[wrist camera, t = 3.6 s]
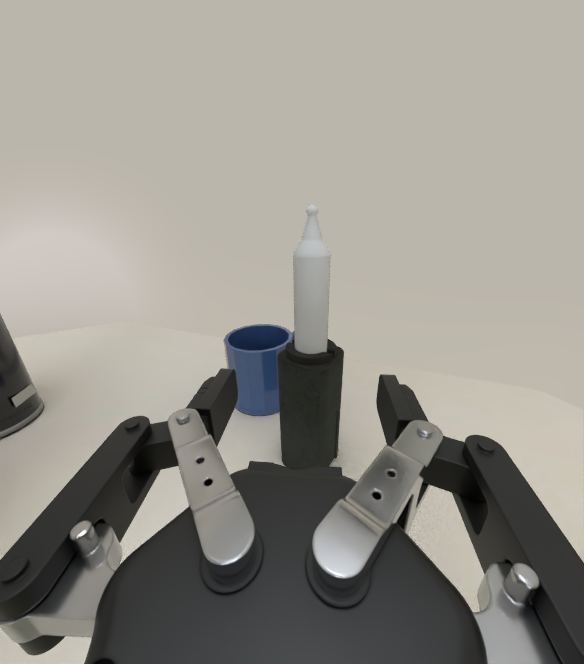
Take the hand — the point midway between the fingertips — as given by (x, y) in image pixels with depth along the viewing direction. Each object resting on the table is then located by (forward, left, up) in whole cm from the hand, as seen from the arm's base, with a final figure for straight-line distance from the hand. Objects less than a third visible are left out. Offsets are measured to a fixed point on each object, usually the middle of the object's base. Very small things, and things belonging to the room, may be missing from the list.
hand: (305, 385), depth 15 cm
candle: (-2, +9, -16) cm, 18 cm away
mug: (-10, +20, -16) cm, 27 cm away
